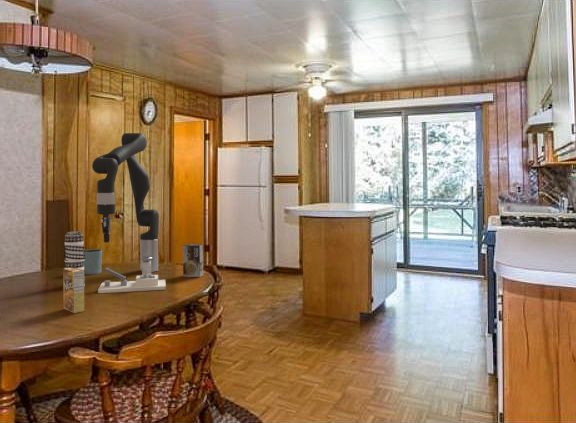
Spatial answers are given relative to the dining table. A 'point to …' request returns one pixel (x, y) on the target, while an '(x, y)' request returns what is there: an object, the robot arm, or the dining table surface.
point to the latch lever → (115, 273)
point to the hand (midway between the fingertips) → (106, 242)
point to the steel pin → (146, 267)
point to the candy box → (73, 289)
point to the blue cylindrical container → (92, 261)
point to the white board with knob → (133, 285)
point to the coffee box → (193, 260)
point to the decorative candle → (74, 250)
